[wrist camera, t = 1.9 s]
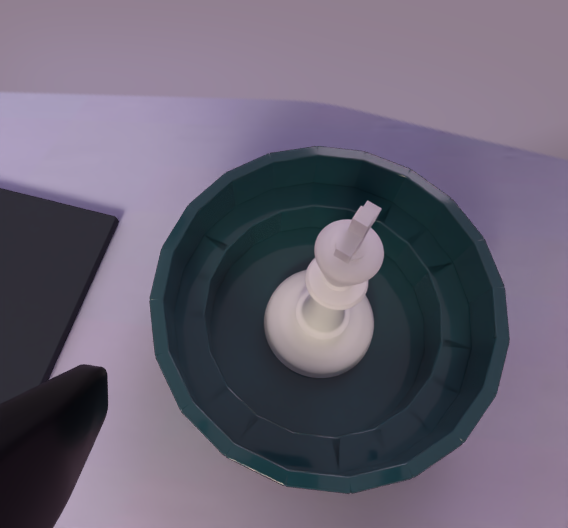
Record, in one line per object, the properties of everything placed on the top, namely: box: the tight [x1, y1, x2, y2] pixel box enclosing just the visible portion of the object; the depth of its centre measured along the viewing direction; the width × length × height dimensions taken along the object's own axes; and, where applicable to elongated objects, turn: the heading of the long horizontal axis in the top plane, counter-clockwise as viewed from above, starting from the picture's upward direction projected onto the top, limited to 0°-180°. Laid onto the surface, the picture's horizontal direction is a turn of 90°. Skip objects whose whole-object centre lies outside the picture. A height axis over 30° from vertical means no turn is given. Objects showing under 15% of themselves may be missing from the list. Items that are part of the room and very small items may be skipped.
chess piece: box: [264, 200, 384, 378], centre depth 16 cm, size 5×5×10 cm
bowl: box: [149, 146, 510, 494], centre depth 18 cm, size 13×13×4 cm
